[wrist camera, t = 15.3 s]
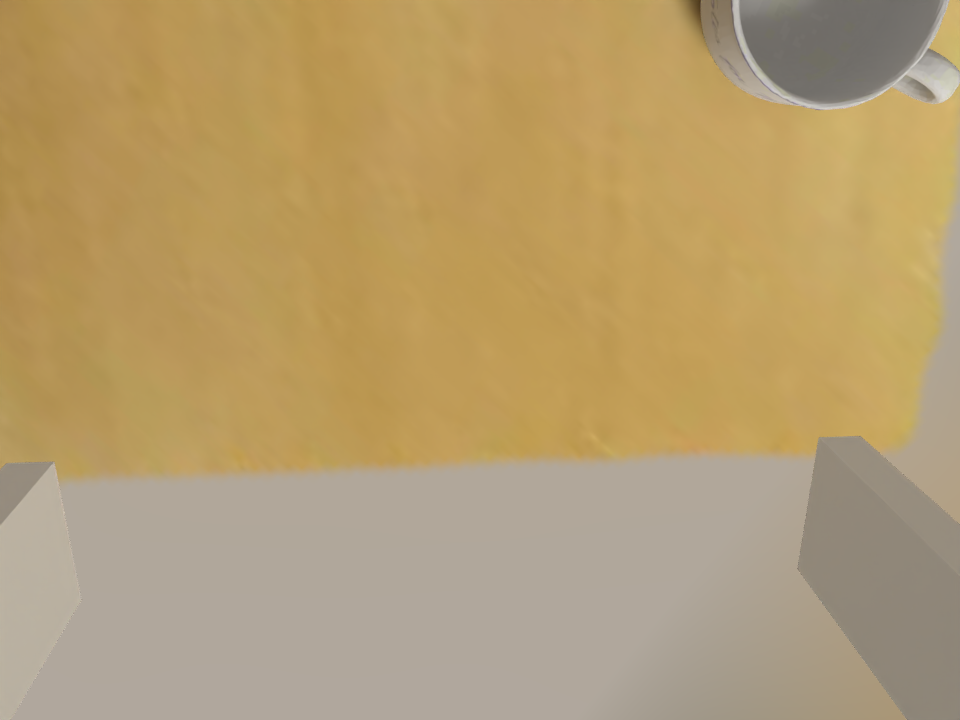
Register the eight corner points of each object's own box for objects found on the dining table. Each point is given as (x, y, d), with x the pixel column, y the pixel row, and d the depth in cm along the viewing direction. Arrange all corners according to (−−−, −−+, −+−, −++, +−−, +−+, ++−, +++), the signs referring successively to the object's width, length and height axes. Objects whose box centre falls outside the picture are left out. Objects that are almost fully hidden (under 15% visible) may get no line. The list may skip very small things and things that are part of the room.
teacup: (642, 0, 46) (686, -8, 39) (795, -161, 44) (872, -202, 37) (795, 176, 51) (861, 200, 43) (941, 37, 48) (1038, 38, 41)
